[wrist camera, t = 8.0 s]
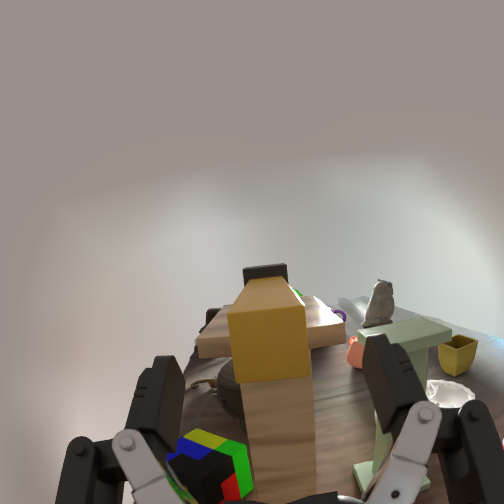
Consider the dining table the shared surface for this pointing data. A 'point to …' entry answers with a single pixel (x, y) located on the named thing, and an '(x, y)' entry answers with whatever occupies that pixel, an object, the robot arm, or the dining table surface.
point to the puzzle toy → (211, 467)
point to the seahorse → (211, 381)
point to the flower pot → (457, 354)
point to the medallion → (446, 394)
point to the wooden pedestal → (280, 409)
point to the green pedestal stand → (417, 347)
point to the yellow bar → (268, 328)
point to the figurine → (380, 305)
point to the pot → (230, 394)
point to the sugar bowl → (355, 353)
